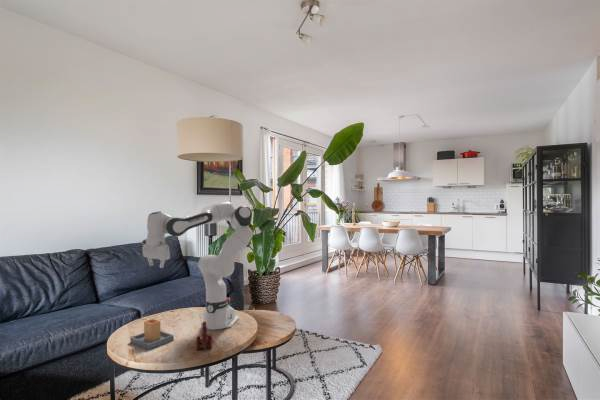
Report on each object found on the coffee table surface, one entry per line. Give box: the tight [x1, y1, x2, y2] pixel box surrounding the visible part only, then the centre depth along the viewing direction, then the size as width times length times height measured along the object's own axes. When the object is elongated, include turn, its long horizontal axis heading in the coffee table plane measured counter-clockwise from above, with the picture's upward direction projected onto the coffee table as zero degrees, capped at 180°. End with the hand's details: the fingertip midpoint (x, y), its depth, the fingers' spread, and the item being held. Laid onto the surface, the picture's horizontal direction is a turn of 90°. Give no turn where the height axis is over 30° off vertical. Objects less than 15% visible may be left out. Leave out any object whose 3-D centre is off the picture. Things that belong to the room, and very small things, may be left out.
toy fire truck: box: [196, 322, 213, 351], centre depth 167 cm, size 7×12×10 cm, turn 16°
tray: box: [130, 329, 175, 351], centre depth 173 cm, size 16×14×2 cm
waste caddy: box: [143, 318, 161, 342], centre depth 173 cm, size 6×5×9 cm
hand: (156, 266), depth 189 cm, fingers open, 8 cm apart
